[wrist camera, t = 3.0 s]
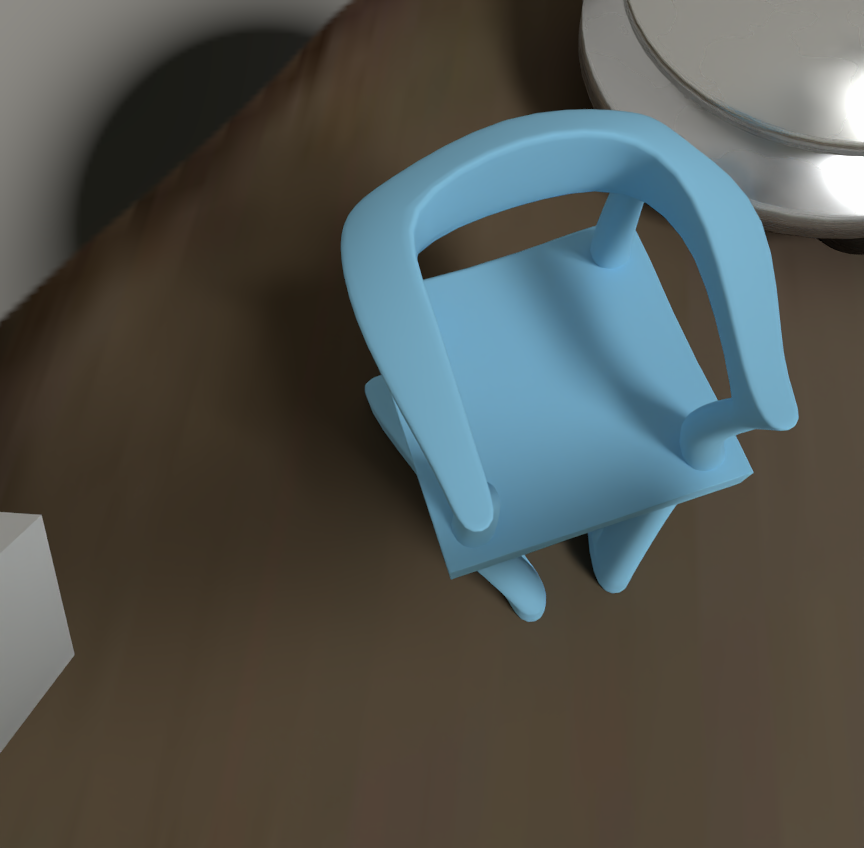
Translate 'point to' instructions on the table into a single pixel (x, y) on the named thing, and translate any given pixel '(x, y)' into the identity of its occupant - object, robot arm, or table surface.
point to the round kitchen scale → (747, 96)
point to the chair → (563, 344)
